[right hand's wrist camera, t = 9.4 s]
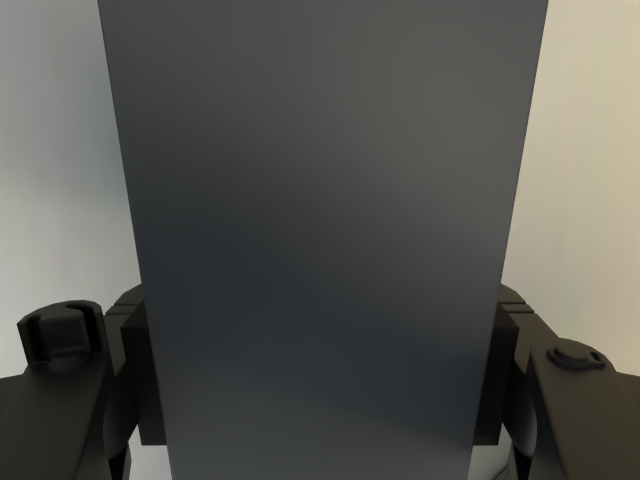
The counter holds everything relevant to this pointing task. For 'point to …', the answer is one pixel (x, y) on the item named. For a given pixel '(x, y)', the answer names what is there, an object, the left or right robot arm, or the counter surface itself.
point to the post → (321, 223)
